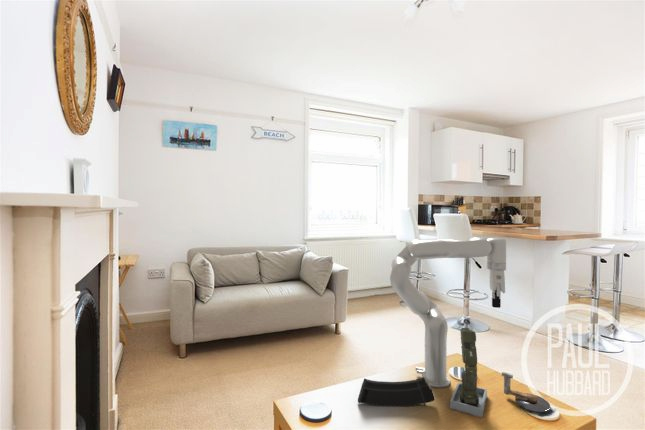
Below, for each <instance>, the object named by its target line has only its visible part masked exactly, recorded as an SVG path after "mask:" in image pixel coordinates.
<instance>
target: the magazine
mask: <svg viewBox="0 0 645 430" xmlns="http://www.w3.org/2000/svg"><path fill="white" fill-rule="evenodd" d="M361 383H362V384H361V387H360V391H359V394H358V397H357V403H358V404H365V405H371V406H379V407H380V406H381V407H410V406H416V405H424V406H426V404H428V403H432V402H434V401H435V400H436V399H435V395H434V392H433V389H432V386H430V385H429V383H428V381H427V382H426V381H425V379H424V377H422V378H416V379H414V380H413V379H411V380H404V381H403V380H402V381H378V380H372V379H367V378H364V379H363V381H362V382H361Z"/></svg>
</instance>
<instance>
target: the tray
mask: <svg viewBox="0 0 645 430" xmlns="http://www.w3.org/2000/svg"><path fill="white" fill-rule="evenodd" d="M461 388H462V382H457V383H456V386H455V388H454V391H453V393H452V396H451V398H450V402H449V407H450V408H449V409H450V410H453V411H456V412H460V413H462V414H463V413H464V414H467V415H471V416H474V417H478V418H480V419H481V418H483V416H484V411H485V408H486V403H487V398H488V389H486V388H483V387H479V386H477V394H478V396H479V404H478V407H475V406H471V405H468V404H464V403H462V402H460V395H459V393H460V390H461Z"/></svg>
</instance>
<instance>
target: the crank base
mask: <svg viewBox="0 0 645 430" xmlns="http://www.w3.org/2000/svg"><path fill="white" fill-rule="evenodd" d="M524 393H525V394H530V393H526V392H524ZM535 395H536V394H535ZM536 396H537V397H538V400H537V403H532V402H530V401H528V400H527V399H524V398H521V397H517V396H515V397H514V402H515V404H516V405H517V407H519V408H520V409H522V410H524V411H526V412H529V413H533V414H536V415H537V414H538V415H539V414H540V415H544V414H548V413H550V411H551V404H550V403H549V401H548V400H546V399H545V398H543V397H541V396H539V395H536ZM549 408H550V409H549ZM547 409H549V410H547ZM545 410H547V411H545Z"/></svg>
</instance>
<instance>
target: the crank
mask: <svg viewBox="0 0 645 430" xmlns="http://www.w3.org/2000/svg"><path fill="white" fill-rule="evenodd" d="M501 376H502V377H503V393H504V394H505V395H510V396H517V397H521V398H524V399H527V400H528V401H530V402H532V403H537V400H538V397H537V396H538V395H537V396H536V394H533V393H529V394H525V393H526V392H522V391H518V390H514V389H511V381H512V380H511V379H513V378H514V377H513V376H514V374H513V373H508V372H504V371H502V372H501Z"/></svg>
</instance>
